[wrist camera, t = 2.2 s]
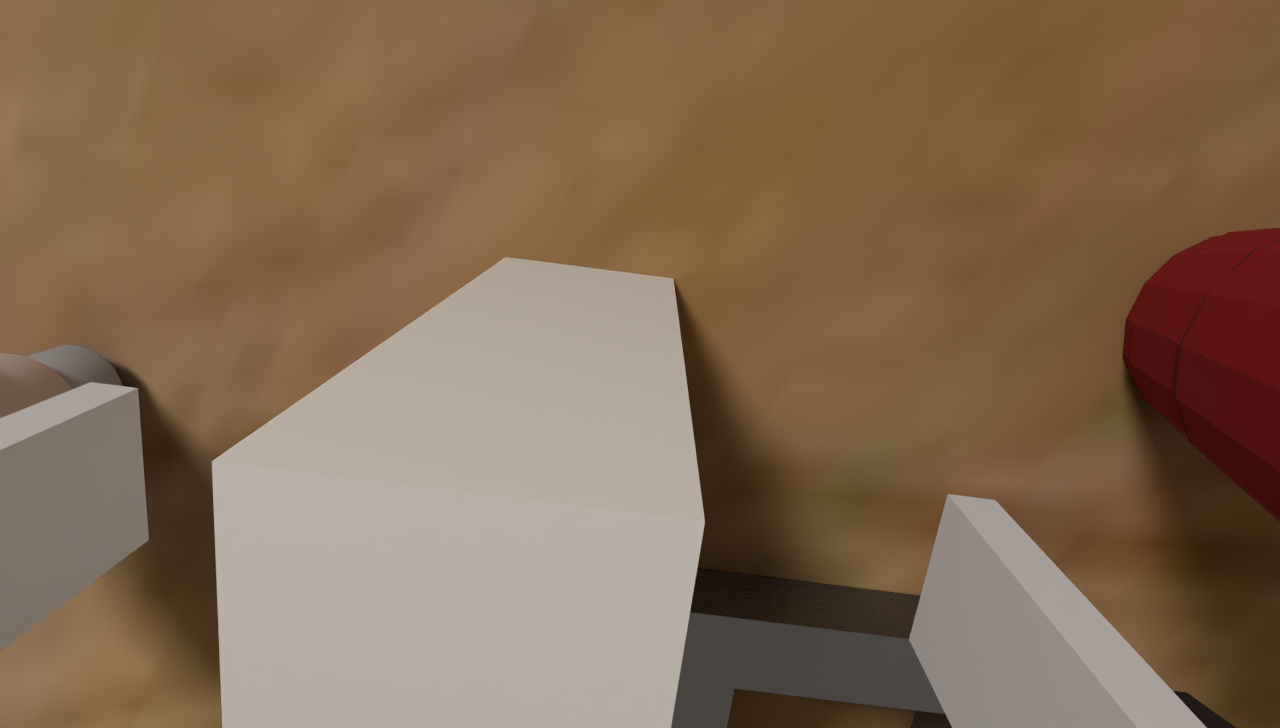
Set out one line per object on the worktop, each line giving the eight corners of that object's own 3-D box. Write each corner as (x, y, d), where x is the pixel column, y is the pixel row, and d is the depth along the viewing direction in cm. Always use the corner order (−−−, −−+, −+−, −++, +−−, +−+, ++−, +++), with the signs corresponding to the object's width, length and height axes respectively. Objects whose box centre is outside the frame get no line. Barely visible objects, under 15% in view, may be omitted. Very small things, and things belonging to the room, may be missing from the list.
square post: (494, 414, 23) (227, 845, 9) (505, 257, 22) (212, 461, 7) (651, 434, 23) (643, 894, 9) (673, 278, 22) (705, 521, 7)
